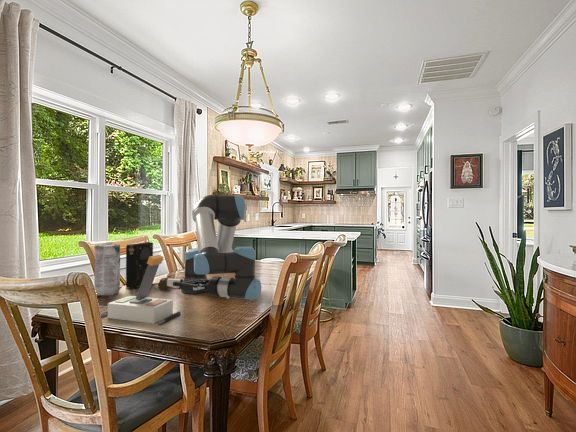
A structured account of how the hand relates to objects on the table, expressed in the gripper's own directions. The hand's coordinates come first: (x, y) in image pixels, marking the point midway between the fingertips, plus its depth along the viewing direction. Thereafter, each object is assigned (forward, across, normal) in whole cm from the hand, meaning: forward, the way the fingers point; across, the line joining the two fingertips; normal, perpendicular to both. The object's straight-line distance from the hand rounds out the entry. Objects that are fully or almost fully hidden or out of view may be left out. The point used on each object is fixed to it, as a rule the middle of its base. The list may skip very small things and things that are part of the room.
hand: (168, 282), depth 127 cm
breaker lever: (+13, 0, -8) cm, 15 cm away
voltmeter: (+51, +43, -15) cm, 68 cm away
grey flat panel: (+13, 0, -15) cm, 20 cm away
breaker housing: (+13, 0, -15) cm, 20 cm away
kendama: (+31, +45, -15) cm, 57 cm away
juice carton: (+54, +24, -15) cm, 61 cm away
